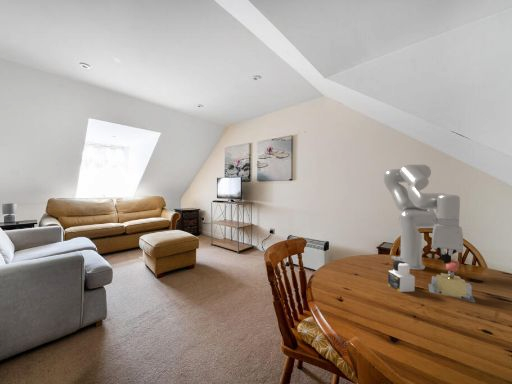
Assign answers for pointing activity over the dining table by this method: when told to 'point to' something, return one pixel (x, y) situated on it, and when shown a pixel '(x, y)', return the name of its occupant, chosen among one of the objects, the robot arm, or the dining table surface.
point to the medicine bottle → (401, 277)
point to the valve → (451, 285)
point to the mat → (450, 296)
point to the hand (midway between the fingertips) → (445, 262)
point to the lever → (452, 266)
